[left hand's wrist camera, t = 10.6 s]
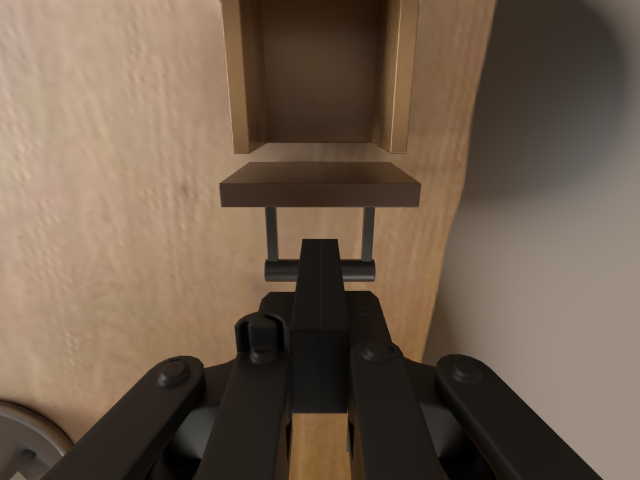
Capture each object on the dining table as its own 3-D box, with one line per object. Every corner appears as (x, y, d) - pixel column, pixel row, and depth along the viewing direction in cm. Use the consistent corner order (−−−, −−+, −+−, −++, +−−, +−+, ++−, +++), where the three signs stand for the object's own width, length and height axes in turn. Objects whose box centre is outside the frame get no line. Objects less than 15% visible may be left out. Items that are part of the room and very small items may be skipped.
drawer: (384, 252, 26) (408, 305, 19) (255, 252, 26) (231, 305, 19) (412, -138, 18) (472, -302, 11) (227, -138, 18) (167, -302, 11)
